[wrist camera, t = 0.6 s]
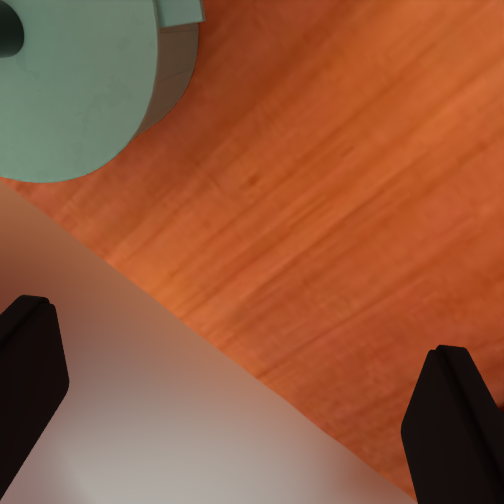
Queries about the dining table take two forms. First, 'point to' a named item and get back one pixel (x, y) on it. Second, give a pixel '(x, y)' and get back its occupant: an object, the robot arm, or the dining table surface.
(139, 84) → the lid
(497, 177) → the dining table surface
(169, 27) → the pot
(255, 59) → the dining table surface
